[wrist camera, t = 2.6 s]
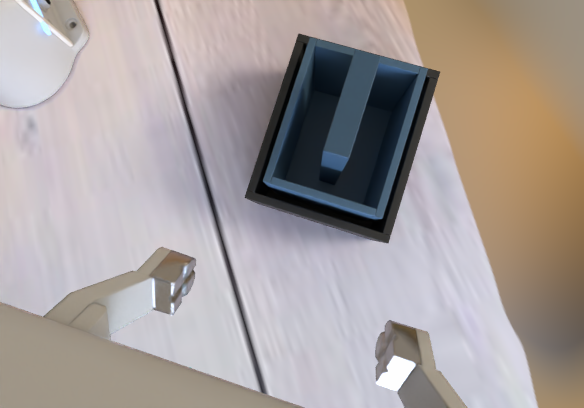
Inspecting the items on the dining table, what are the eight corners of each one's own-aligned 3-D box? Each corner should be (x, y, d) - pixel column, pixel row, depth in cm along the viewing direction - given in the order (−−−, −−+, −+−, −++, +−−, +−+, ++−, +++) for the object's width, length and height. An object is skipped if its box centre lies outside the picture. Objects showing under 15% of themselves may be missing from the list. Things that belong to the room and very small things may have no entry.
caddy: (363, 221, 37) (398, 216, 22) (275, 193, 38) (251, 171, 23) (397, 110, 38) (453, 34, 23) (310, 85, 39) (309, -4, 24)
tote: (372, 240, 38) (388, 243, 30) (257, 203, 39) (244, 197, 31) (414, 102, 39) (440, 71, 31) (301, 71, 40) (298, 33, 32)
